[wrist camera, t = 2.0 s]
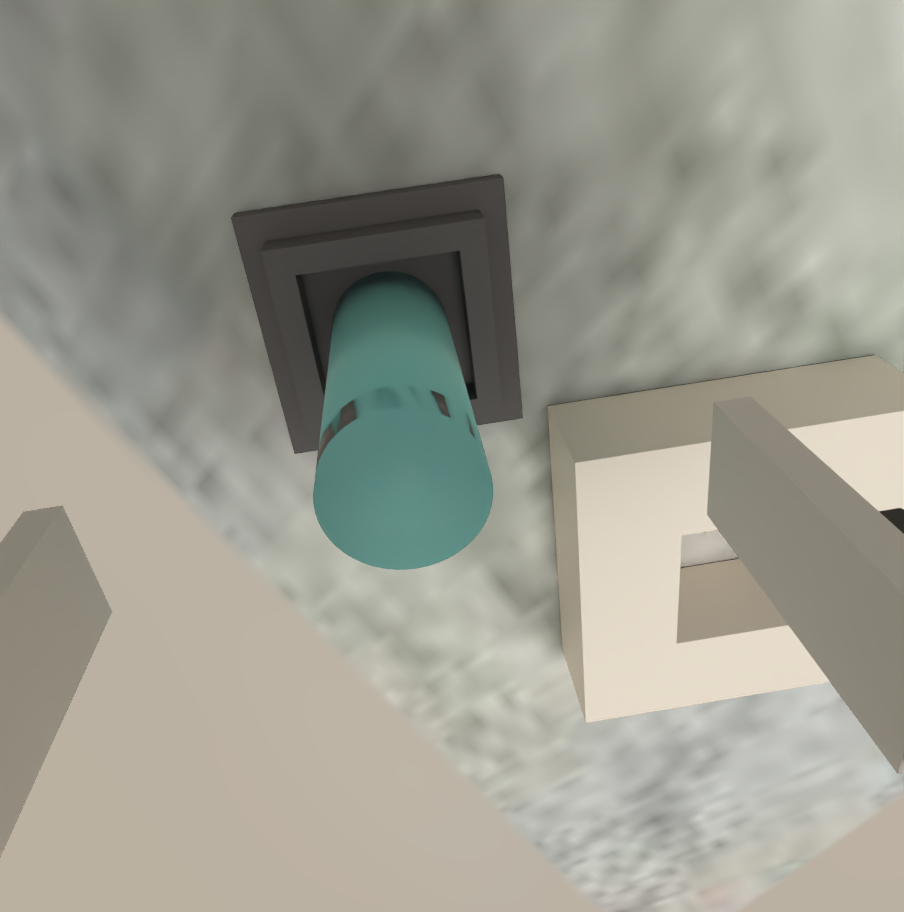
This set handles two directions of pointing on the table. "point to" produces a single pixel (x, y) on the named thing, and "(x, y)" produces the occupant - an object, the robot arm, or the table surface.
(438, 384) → the plug
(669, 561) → the port
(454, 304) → the grey square socket
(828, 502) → the robot arm
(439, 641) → the table surface
